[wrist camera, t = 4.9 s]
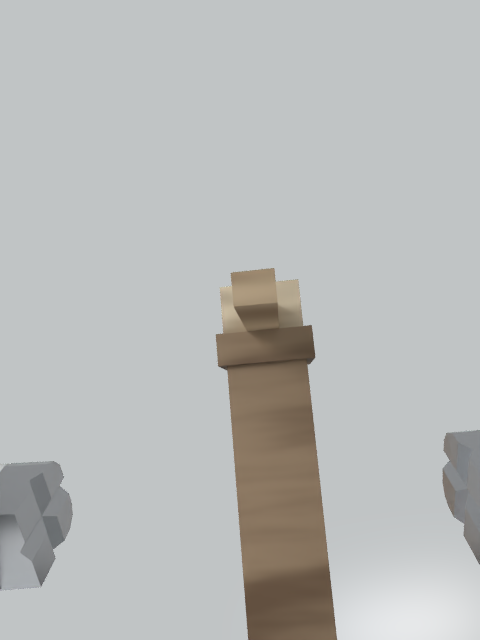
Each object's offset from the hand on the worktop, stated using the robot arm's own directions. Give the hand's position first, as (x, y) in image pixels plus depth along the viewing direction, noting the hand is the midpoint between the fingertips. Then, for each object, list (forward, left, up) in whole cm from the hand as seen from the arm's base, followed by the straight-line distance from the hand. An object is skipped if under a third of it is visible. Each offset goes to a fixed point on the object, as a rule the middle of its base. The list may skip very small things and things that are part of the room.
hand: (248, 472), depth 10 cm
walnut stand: (+16, +13, -20) cm, 29 cm away
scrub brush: (+14, +12, +6) cm, 19 cm away
